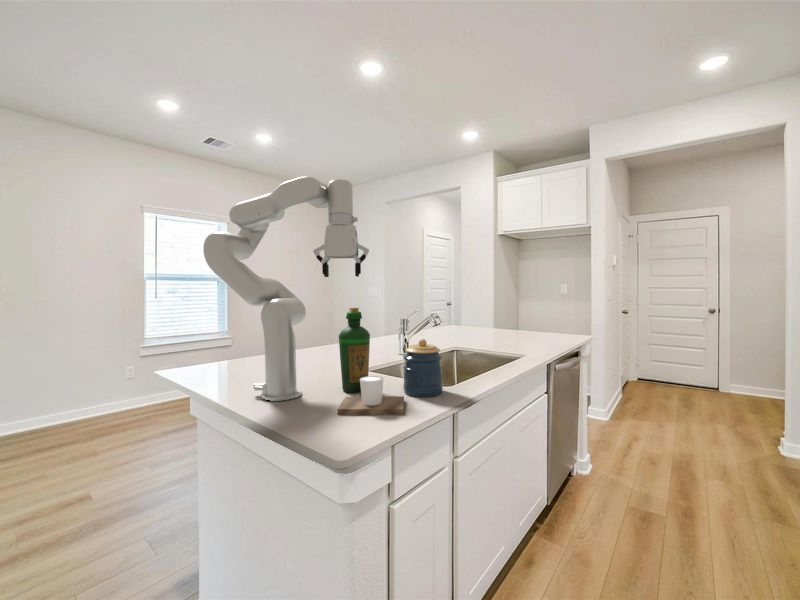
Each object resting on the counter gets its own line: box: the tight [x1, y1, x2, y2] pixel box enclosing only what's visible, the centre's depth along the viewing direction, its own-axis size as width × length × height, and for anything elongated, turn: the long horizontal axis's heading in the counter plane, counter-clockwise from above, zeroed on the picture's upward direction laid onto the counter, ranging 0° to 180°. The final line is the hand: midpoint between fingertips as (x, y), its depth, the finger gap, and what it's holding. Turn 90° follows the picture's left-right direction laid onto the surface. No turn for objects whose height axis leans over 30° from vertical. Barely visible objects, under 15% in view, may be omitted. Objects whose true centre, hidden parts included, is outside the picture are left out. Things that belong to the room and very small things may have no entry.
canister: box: [402, 338, 444, 398], centre depth 122 cm, size 13×13×18 cm
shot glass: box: [360, 375, 384, 405], centre depth 107 cm, size 7×7×7 cm
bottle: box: [338, 307, 371, 394], centre depth 126 cm, size 11×11×28 cm
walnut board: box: [336, 395, 405, 416], centre depth 107 cm, size 18×12×2 cm, turn 88°
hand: (341, 276), depth 116 cm, fingers open, 9 cm apart
